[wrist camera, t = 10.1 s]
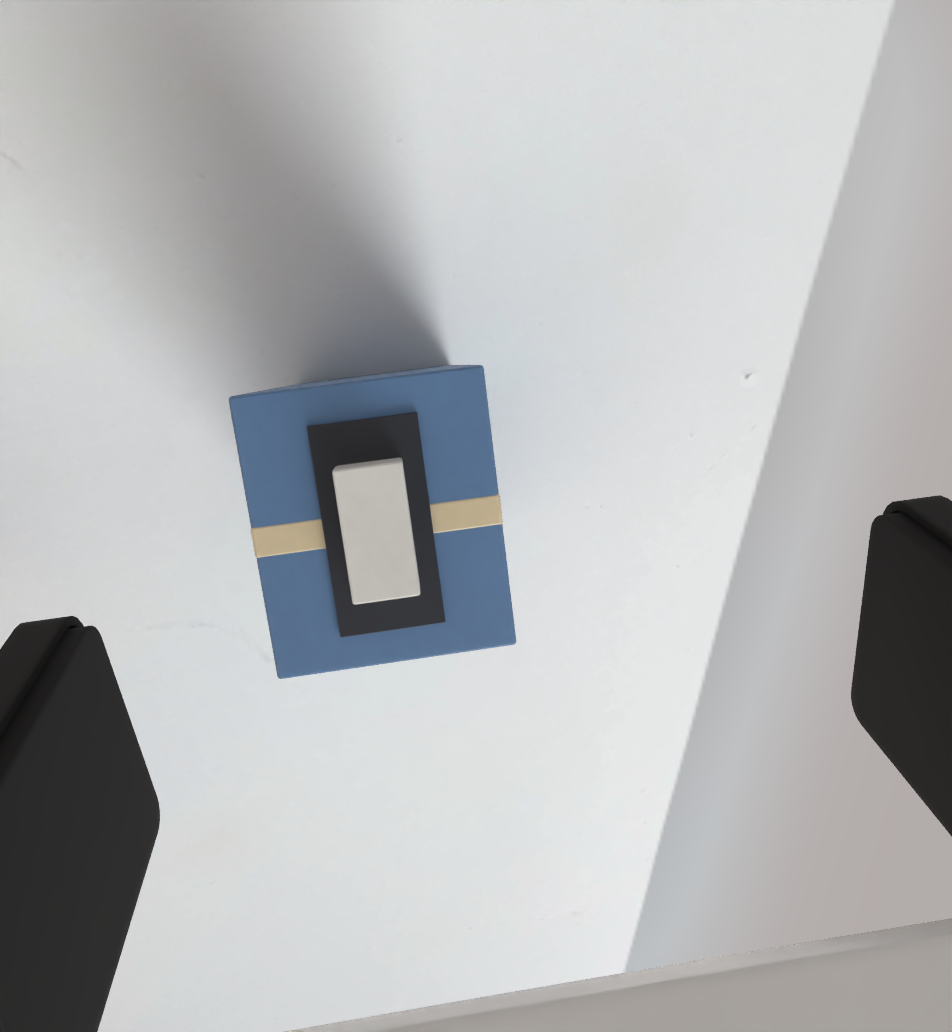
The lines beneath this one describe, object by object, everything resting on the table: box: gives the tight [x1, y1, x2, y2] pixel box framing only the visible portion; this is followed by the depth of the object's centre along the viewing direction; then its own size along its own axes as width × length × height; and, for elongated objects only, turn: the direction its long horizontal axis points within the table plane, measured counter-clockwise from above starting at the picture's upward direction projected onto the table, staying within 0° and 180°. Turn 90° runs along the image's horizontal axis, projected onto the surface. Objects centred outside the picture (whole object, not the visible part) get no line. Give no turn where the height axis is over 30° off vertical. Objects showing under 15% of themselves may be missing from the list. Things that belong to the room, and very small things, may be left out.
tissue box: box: [229, 365, 516, 679], centre depth 26 cm, size 14×6×7 cm
